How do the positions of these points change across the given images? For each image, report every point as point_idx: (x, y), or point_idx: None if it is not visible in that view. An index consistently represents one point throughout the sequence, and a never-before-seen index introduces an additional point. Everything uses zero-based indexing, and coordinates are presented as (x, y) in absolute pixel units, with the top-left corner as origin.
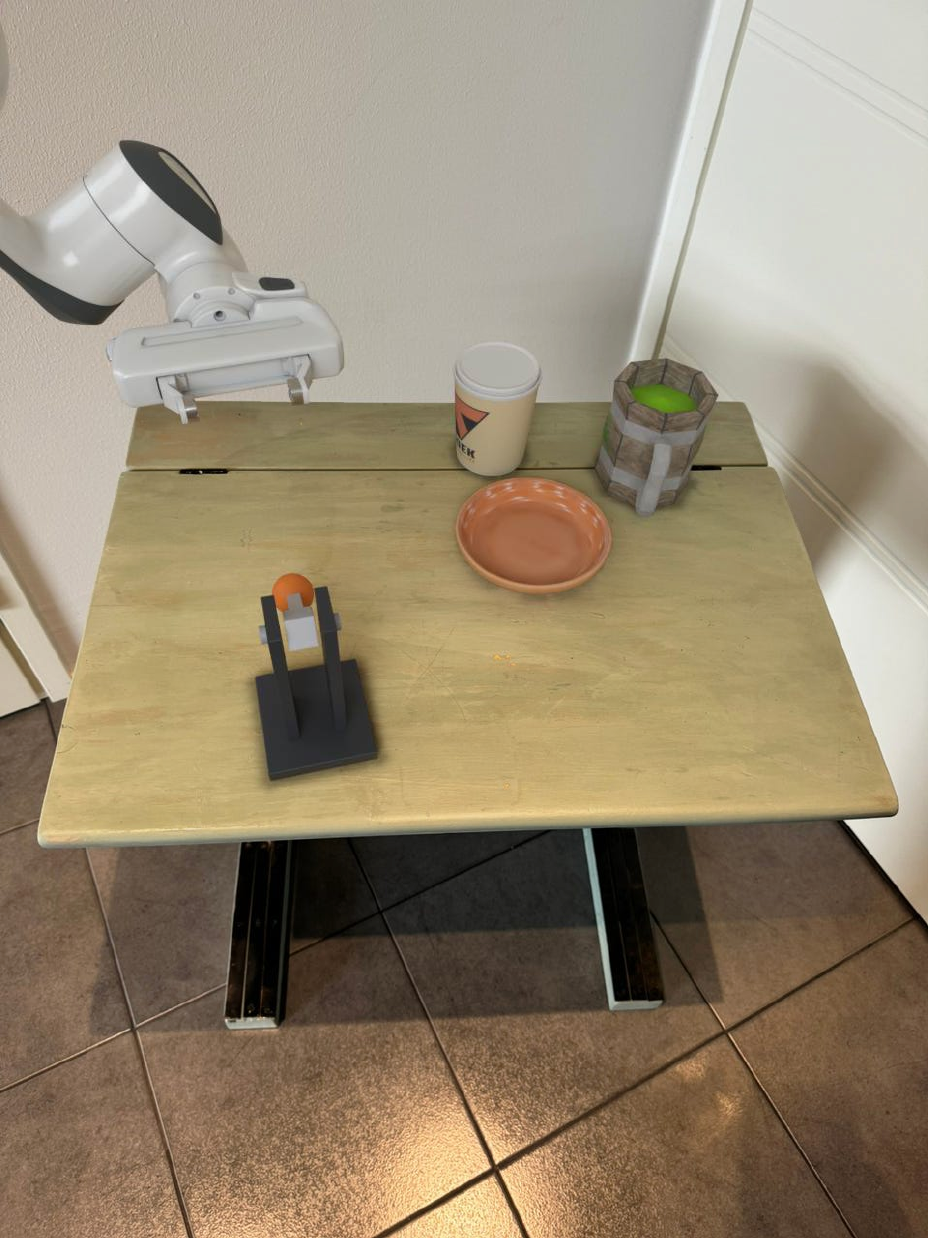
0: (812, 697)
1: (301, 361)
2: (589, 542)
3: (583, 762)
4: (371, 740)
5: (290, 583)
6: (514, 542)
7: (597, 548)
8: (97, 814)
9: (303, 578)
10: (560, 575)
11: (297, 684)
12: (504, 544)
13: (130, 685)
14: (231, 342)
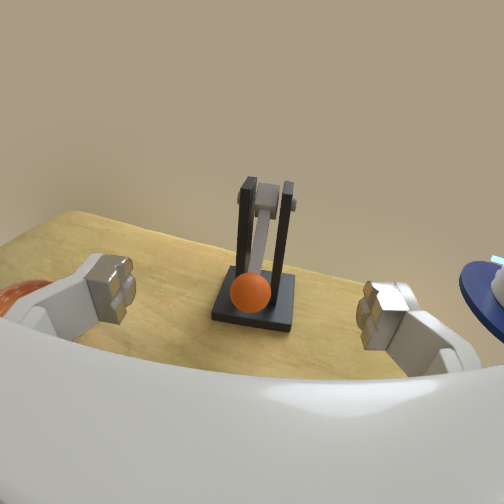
0: (41, 230)
1: (27, 311)
2: (4, 311)
3: (137, 241)
4: (230, 270)
5: (253, 274)
6: None
7: (8, 301)
8: None
9: (238, 279)
10: None
11: (261, 310)
12: None
13: (382, 357)
14: (185, 492)
